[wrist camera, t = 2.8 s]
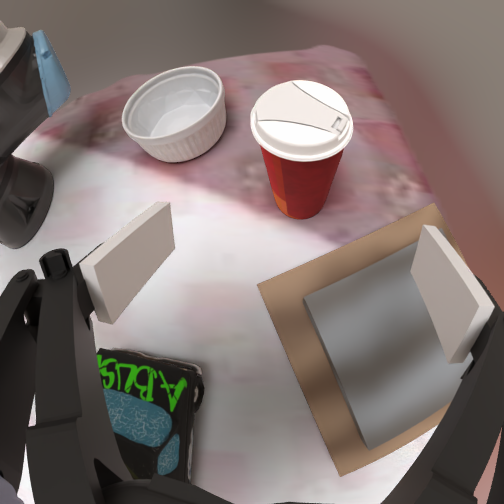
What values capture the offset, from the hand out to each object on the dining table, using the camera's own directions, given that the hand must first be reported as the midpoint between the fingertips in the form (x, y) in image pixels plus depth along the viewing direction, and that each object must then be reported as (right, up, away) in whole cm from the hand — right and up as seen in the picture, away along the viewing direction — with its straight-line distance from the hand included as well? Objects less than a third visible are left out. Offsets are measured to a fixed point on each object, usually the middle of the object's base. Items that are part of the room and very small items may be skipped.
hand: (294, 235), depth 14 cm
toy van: (-13, -24, +12) cm, 29 cm away
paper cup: (+3, +5, +18) cm, 19 cm away
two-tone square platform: (+12, -10, +12) cm, 19 cm away
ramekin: (-11, +16, +23) cm, 30 cm away
